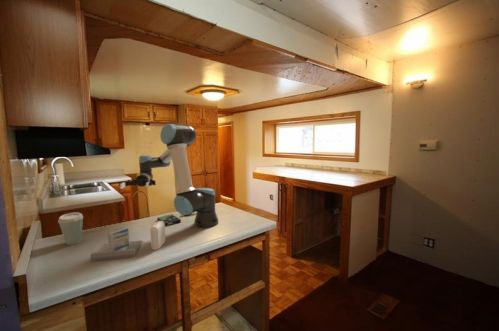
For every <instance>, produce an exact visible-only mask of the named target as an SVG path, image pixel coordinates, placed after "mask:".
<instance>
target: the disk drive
mask: <svg viewBox="0 0 499 331" xmlns="http://www.w3.org/2000/svg"><path fill="white" fill-rule="evenodd" d="M157 221H163V222H164V223H165V227H169V226H174V225H177V224H180V223H182V219H180V218H179V217H178V216H175V215H174V214H167V215H164V216H157V220H156V222H157Z"/></svg>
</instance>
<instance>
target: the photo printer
mask: <svg viewBox="0 0 499 331" xmlns="http://www.w3.org/2000/svg"><path fill="white" fill-rule="evenodd" d="M165 243H166V226H165V223H164V222H163V221H157V220H156V221H155V222H154V223H153V225H152V226H151V227H150V245H151V248H150V249H152V250H153V251H155V250H159V249H160V248H161V247H163V245H164V244H165Z"/></svg>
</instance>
